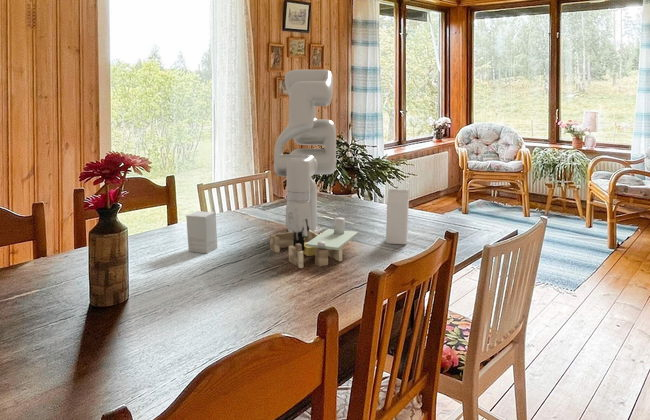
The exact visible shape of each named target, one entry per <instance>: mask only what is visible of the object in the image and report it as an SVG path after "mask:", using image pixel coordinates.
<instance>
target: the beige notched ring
mask: <svg viewBox="0 0 650 420" xmlns="http://www.w3.org/2000/svg"><path fill="white" fill-rule="evenodd" d="M307 233H308V236H305V239H304V243H306V242H309V241H310V240H312V239H313V238H315V237H316V236H318V235H319V233H316V232H314V231H311V230H310V231H307ZM293 239H295V238H293V233H292V232H288V231H287V232H280V233H273V234H269V249H270V250H271V251H273V252H275V253H277V254H278V253H280V251H281V249H284V248H288V261H289V263H291V264H293V265H294V266H296V267H298V268H299V269H303V268H304V254H303V251H302V245H301V244H300V243H297V244H295V247H294V246H293ZM329 257H330V258H332V259H333V260H335V261H338V262H343V247H341V248H340V249H339V250H333V249H324V248H315V255H314V265H317V266H318V267H320V268H321V267H325V266H328V265H329Z"/></svg>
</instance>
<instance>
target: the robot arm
mask: <svg viewBox="0 0 650 420" xmlns="http://www.w3.org/2000/svg"><path fill="white" fill-rule="evenodd" d="M284 84H285V88H286V92H287V94H288V97H289V99H288V124H287V126H286V127H284V129H283V130H282V132H281V133H280V134H279V135H278V137H277V139H276V141H275V143H274V144H275V145H274V154H273V155H274V157H273V170H274V173H275V174H276V175H277V176H279V177H281V178H282V177H283V178H286V206H285V227H286V228H287V232H292V233H293V238H295V239H293V246H294V247H295V244H297V243H300V244H301V245H302V251H304V239H305V236H308V233H307V231H310V230H311V231H314V232H316V233H318V234H319V233H320V234H321V233H322V228H321V227H320V226H318V193H317V192H318V186H317V184H316V182H315V180H314V179H313V178H312V177H313V176H314V175H332V174H334V173H335V171H336V168H337V167H336V166H337V131H336V130H337V128H336V125H335V123H334V121H332V120H331V119H328V118H327V119H325V118H323V119H321V118H320V119H318V118H317V116H316V115H317V114H316V113H317V108H316V107H328V106H330V105H331V102H332V100H333V99H332V98H333V90H334V76H333V73H332V71H330V70H328V69H307V68H306V69H301V68H300V69H292V70H289V71H287V72H286V73H285V75H284ZM292 139H293V141H294V142H295V144H297V145H299V146H301V145H302V146H322V147H323V148H297V149H293V150H292V151H291V152H290V153H288V154H287V153H285V154H284V148H285V146H286V144H287V143H288V142H290V141H291V140H292Z"/></svg>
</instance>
